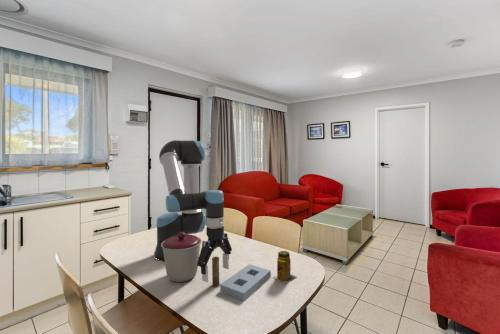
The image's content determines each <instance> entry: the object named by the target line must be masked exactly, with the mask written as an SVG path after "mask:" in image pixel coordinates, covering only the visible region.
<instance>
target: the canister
mask: <svg viewBox="0 0 500 334" xmlns="http://www.w3.org/2000/svg"><path fill="white" fill-rule="evenodd" d="M202 242H203V240H202V238H200V237H198V236H196V235H193V234H187V235H185V233H184V232H180V233H178V235H176V236H172V237H170V238H168V239H166V240H165V241H163V242H162V243H161V247H162V248H163V253H164V260H165V261H164V266H165V272H166V276H167V277H168V279H169V280H170V281H172V282H176V283H183V282H187V281H190V280H192V279H193V278H194V277H195V276H196V275H197V272H198V268H199V266H197V262H198V259H199V255H200V252H201V245H202Z"/></svg>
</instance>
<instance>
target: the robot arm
mask: <svg viewBox="0 0 500 334" xmlns="http://www.w3.org/2000/svg"><path fill="white" fill-rule="evenodd" d="M205 157H206V152H205V148H204V145H203V143H202V142H201V141H200V140H178V139H177V140H175V139H174V140H171V141H168V142H166V143H165V144H164V145H163V146H162V148H161V149H160V151H159V155H158V158H159V163H160V164H161V165H162V167H163V172H164V175H165V176H164V178H165V181H166V187H167V191H168V195H166V197H165V209H166V211H167V213H163V214H162V215H159V216H158V217H157V219H156V225H155V227H156V245H155V250H154V253H153V258H154V257H155V258H157V259H159V260H164V253H163V248H162V247H161V243H162V242H163V241H165V240H166V239H168V238H170V237H172V236H176V235H178V233H180V232H184V233H185V235H193V234H198V233H202V232H203V231H204V230H205V229H206V236H207V240H206V241H205V240H202V242H201V247H200V251H199V259H198V262H197V266H198V267H200V273H201V281H202V282H205V283H208V282H209V266H208V263H209V260H210V259H211V255H212V253H213V252H214V251H215V249H217V248H220V249H221V251H222V252H223V254H222V268H223V269H226V270H228V269H229V260H230V255H231V253H232V250H233V247H232V246H231V243H230V241H229V238H228V233H225V227H224V225H225V223H224V222H225V221H224V220H225V219H224V215H225V214H224V213H225V212H224V210H225V208H224V205H225V204H224V203H225V202H224V201H225V199H224V192H223V190H218V189H210V190H206V191H205V190H203V191H201V192H200V166H201V165H202V162H203V161H204V160H205ZM179 162H180V165H181V166H182V168H183V176H182V173H181V169H180V165H179ZM203 210H205V212H204V211H203ZM179 212H181V214H179ZM155 258H154V259H155ZM159 260H158V261H159Z"/></svg>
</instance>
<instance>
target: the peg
mask: <svg viewBox="0 0 500 334" xmlns="http://www.w3.org/2000/svg"><path fill="white" fill-rule="evenodd" d="M211 268H212V269H211V271H212V273H211V274H212V275H211V276H212V278H211V279H212V280H211V281H212V283H211V284H212V285H211V286H213V287H220V257H219V256H213V257H212V258H211Z"/></svg>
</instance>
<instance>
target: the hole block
mask: <svg viewBox="0 0 500 334" xmlns="http://www.w3.org/2000/svg"><path fill="white" fill-rule="evenodd" d="M271 275H272V273H271V270H270V269H267V268H263V267H260V266H258V265H257V266H256V265H253V264H246V266H245V267H243V268H242V269H240V270H238V271H237V272H236V273H235V274H233V275H231V276H230V277H228V278H227V279H226V280H224V281H223V282H221V283H219V289H220V290H219V292H220V293H223V294H225V295H229V296H231V297H234V298H236V299H239V300H242V301H244V302H245V300H247V299H248V298H249V297H250V296H251V295H252V294H253V293H254V292H256V291H257V290H258V289H259V288H260V287H261V286H263V284H264V283H266V281H268V280H269V279H270V278H271V277H272V276H271Z"/></svg>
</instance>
